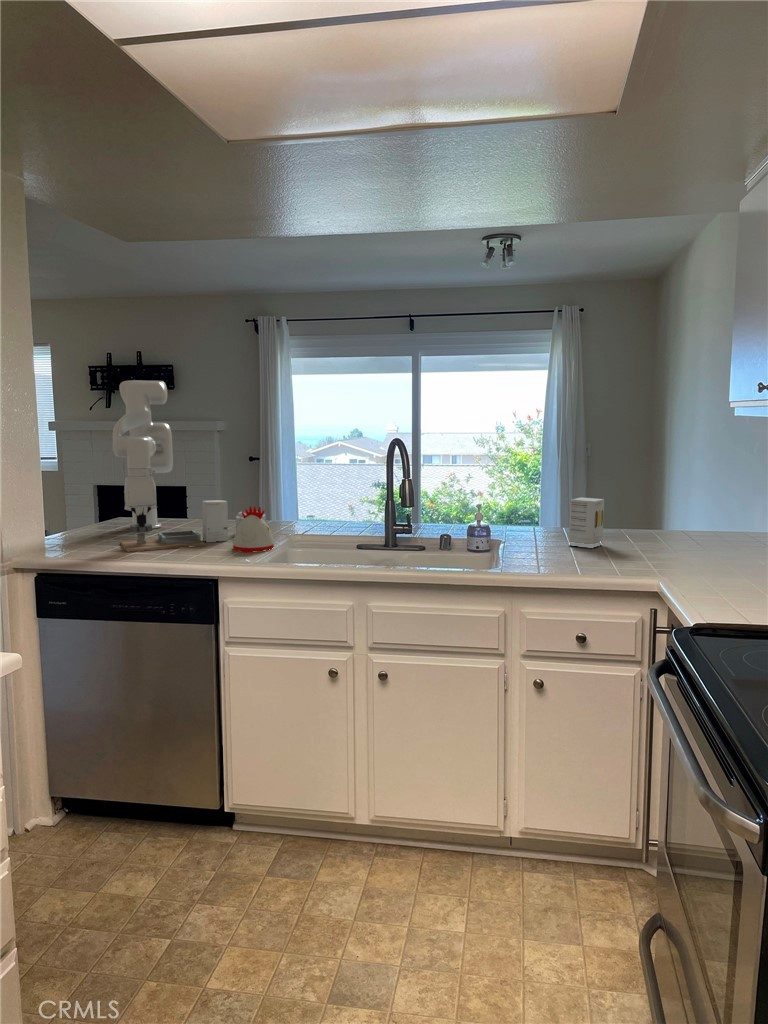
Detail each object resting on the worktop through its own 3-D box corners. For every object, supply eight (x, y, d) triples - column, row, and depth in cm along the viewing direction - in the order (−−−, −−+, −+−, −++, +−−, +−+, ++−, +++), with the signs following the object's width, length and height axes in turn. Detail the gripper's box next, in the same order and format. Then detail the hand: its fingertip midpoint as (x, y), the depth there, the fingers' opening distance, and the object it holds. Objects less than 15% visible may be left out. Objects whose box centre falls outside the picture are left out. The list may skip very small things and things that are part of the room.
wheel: (128, 530, 253) (128, 524, 253) (150, 528, 256) (149, 523, 256) (131, 533, 247) (131, 527, 247) (153, 531, 250) (153, 526, 250)
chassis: (120, 543, 258) (120, 531, 257) (194, 537, 269) (193, 526, 269) (126, 552, 242) (126, 539, 241) (204, 546, 253) (204, 533, 253)
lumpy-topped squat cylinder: (269, 532, 283) (268, 510, 281) (255, 537, 270) (254, 515, 269) (244, 531, 285) (244, 509, 284) (230, 536, 273) (229, 514, 271)
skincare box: (206, 542, 259) (204, 502, 257) (202, 540, 265) (200, 500, 262) (229, 541, 263) (227, 500, 261) (224, 538, 268) (223, 499, 266)
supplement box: (592, 549, 248) (595, 501, 246) (567, 546, 254) (569, 499, 251) (602, 545, 256) (605, 498, 253) (578, 542, 261) (580, 496, 259)
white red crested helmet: (265, 553, 241) (264, 509, 239) (226, 551, 244) (225, 508, 242) (279, 545, 255) (278, 503, 253) (242, 544, 257) (241, 502, 255)
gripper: (160, 471, 253) (162, 523, 256) (115, 473, 247) (117, 526, 249) (163, 473, 246) (165, 526, 249) (117, 475, 240) (120, 529, 242)
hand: (141, 526), depth 249 cm, fingers closed
